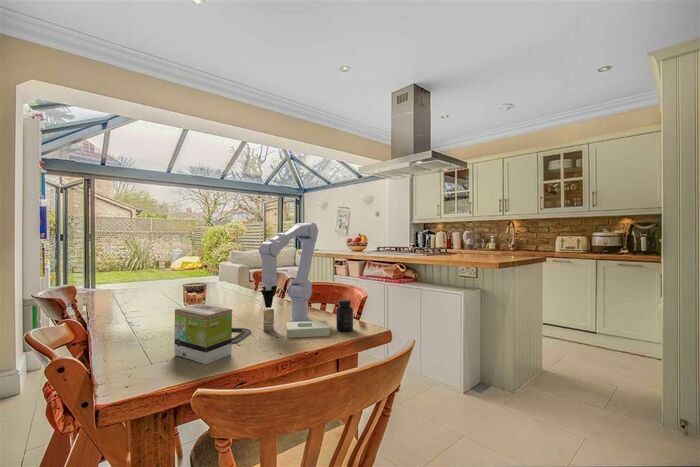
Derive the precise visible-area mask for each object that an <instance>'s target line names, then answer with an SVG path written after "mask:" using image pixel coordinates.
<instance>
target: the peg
mask: <svg viewBox="0 0 700 467" xmlns="http://www.w3.org/2000/svg"><path fill="white" fill-rule="evenodd" d="M274 324H275V309H273V308H265V309H264V310H263V329H262V330H263V332H268V333H269V332H273V331H274V330H275V325H274Z"/></svg>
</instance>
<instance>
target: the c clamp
mask: <svg viewBox="0 0 700 467" xmlns="http://www.w3.org/2000/svg"><path fill="white" fill-rule="evenodd" d="M234 332H235V333H238V332H239V333H238V334H237V335H236V336H234V337H232V345H234V344H238V343H240V342H242V341H243V340H245V339H246V338H247V337H248V336H249V335H251V333H252V330H251V329H249V328H243V327H232V333H234Z"/></svg>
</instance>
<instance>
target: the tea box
mask: <svg viewBox="0 0 700 467" xmlns="http://www.w3.org/2000/svg"><path fill="white" fill-rule="evenodd" d="M232 328H233V309H232V308H226V307H220V306H215V305H210V304H204V303H198V304H195V305H191V306H185V307H182V308H175V309H174V346H173V347H174V348H173V350H174V353H173V354H174V356H177V357H182V358H184V359H187V360H191V361H194V362H197V363H200V364H202V365H208V364H210V363H213V362H216V361H219V360H221V359H224V358H225V357H227V356H231V355H232V346H233V344H232V338H233V336H232V334H233V332H232Z"/></svg>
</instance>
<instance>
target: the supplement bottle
mask: <svg viewBox="0 0 700 467" xmlns="http://www.w3.org/2000/svg"><path fill="white" fill-rule="evenodd" d="M351 305H352V304H351V299H348V298H347V299H344V298H343V299H338V307H337V308H336V309H335V310H336V311H335V312H336V316H335V318H336V325H335V326H336V331H337V332H340V333H350V332H352V331H353V330H354V309H353V307H352V306H351Z"/></svg>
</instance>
